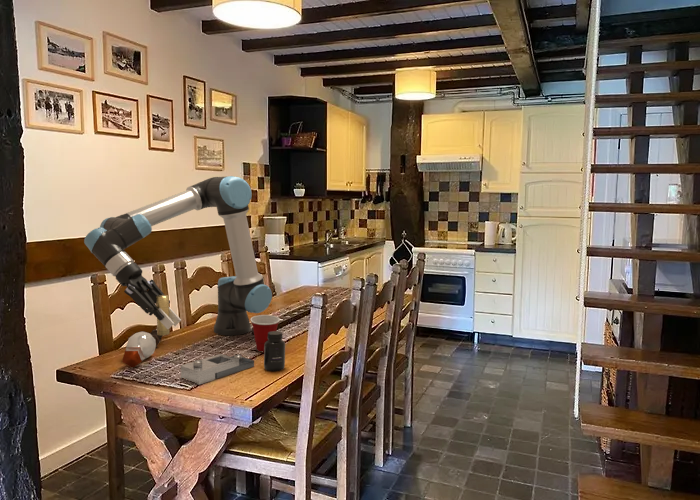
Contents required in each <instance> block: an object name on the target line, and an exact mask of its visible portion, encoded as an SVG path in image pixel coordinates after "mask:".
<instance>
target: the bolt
mask: <svg viewBox="0 0 700 500" xmlns="http://www.w3.org/2000/svg"><path fill="white" fill-rule="evenodd" d="M150 334H151V335H152V336H153V337H154V338H155V341H156V347H155V349H157V348H158V346H159V344H160V343H161V339H162V337H163V336H164V335H157V328H156V329H152V330H151V332H150Z"/></svg>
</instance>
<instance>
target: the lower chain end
mask: <svg viewBox="0 0 700 500" xmlns="http://www.w3.org/2000/svg"><path fill="white" fill-rule="evenodd" d="M231 357H233V358H236V359H239V366H236V367H233V368H230V369H227V370H223V371H220V372H217V373H215V380H218V379H221V378H224V377H227V376H229V375H232V374H235V373H239V372H241V371H245V370H248V369H251V368H253V367H255V360H254V359H251V358H246V357H243V354H237V353H236V354H234V355H232V356H231ZM219 363H221V362H219ZM219 363H216V364H219Z"/></svg>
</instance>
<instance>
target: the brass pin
mask: <svg viewBox="0 0 700 500" xmlns="http://www.w3.org/2000/svg"><path fill="white" fill-rule="evenodd" d="M156 299H157V305H156V306H157V307H158V309H159V308H161V309H162V310H163V311H164V312H165V313H166V314H167V316H168V317H169V307H170V303H169V301H170V295H168V294H164V295H159V296H156ZM156 329H157V335H163V336H167V335H170V328H169V329H167V328H166V327H165V326H164V325H163V324H162V323H161V322H160V321H159V320H158V319H157V318H156Z"/></svg>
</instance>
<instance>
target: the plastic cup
mask: <svg viewBox="0 0 700 500" xmlns="http://www.w3.org/2000/svg"><path fill="white" fill-rule="evenodd" d="M249 321H250V323H251V326H252V329H253V335H254V341H255V347H256V350H258V352H259V351H263V352H262V353H264V344H265V342H266V341H267V340H268V338H267V337H268V332H271V331H278V326H279V323H280V321H281V318H280V317H279V316H275V315H270V314H260V315H254V316H252V317H251V318H249Z"/></svg>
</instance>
